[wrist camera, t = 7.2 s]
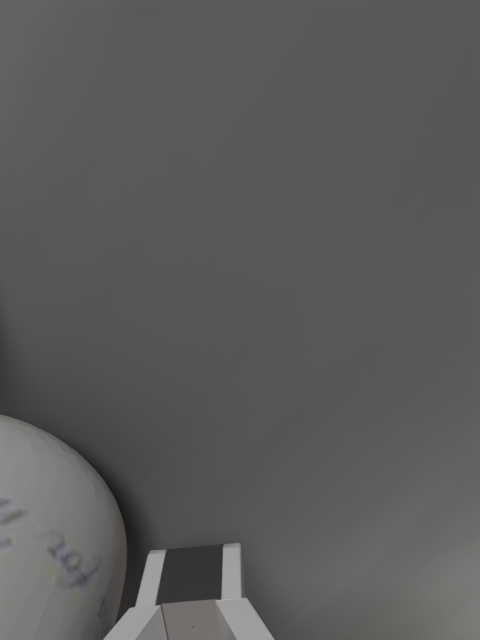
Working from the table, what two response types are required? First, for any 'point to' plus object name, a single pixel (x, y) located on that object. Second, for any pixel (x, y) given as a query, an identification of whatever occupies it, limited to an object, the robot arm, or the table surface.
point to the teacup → (56, 540)
